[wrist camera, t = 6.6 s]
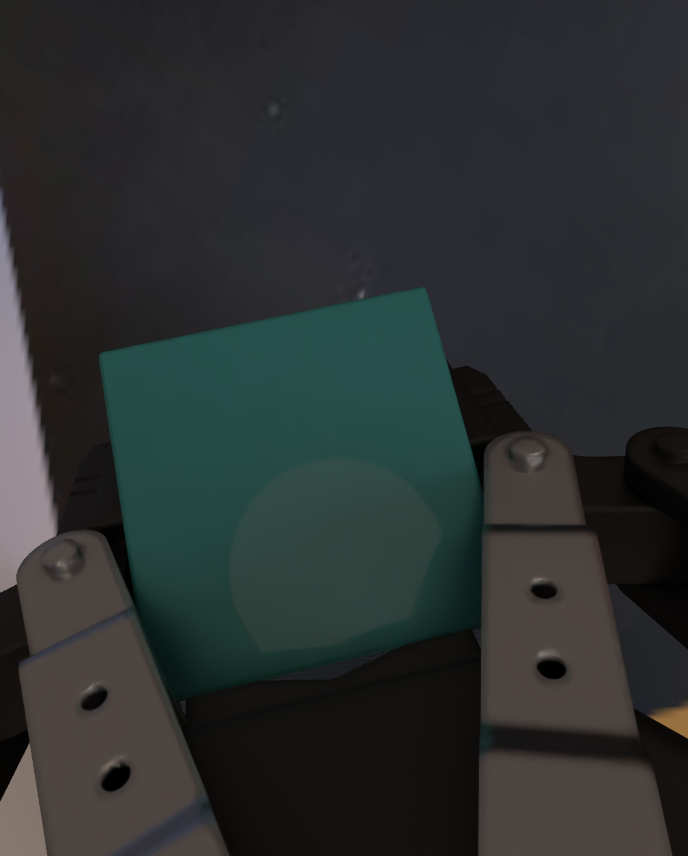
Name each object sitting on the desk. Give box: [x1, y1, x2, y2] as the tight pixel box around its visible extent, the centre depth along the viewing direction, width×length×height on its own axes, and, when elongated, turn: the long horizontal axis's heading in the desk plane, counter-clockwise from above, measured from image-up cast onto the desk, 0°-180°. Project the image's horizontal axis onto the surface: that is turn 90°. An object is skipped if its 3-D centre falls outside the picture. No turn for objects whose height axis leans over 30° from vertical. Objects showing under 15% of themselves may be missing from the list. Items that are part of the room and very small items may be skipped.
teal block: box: [99, 287, 484, 702], centre depth 13 cm, size 5×5×8 cm
